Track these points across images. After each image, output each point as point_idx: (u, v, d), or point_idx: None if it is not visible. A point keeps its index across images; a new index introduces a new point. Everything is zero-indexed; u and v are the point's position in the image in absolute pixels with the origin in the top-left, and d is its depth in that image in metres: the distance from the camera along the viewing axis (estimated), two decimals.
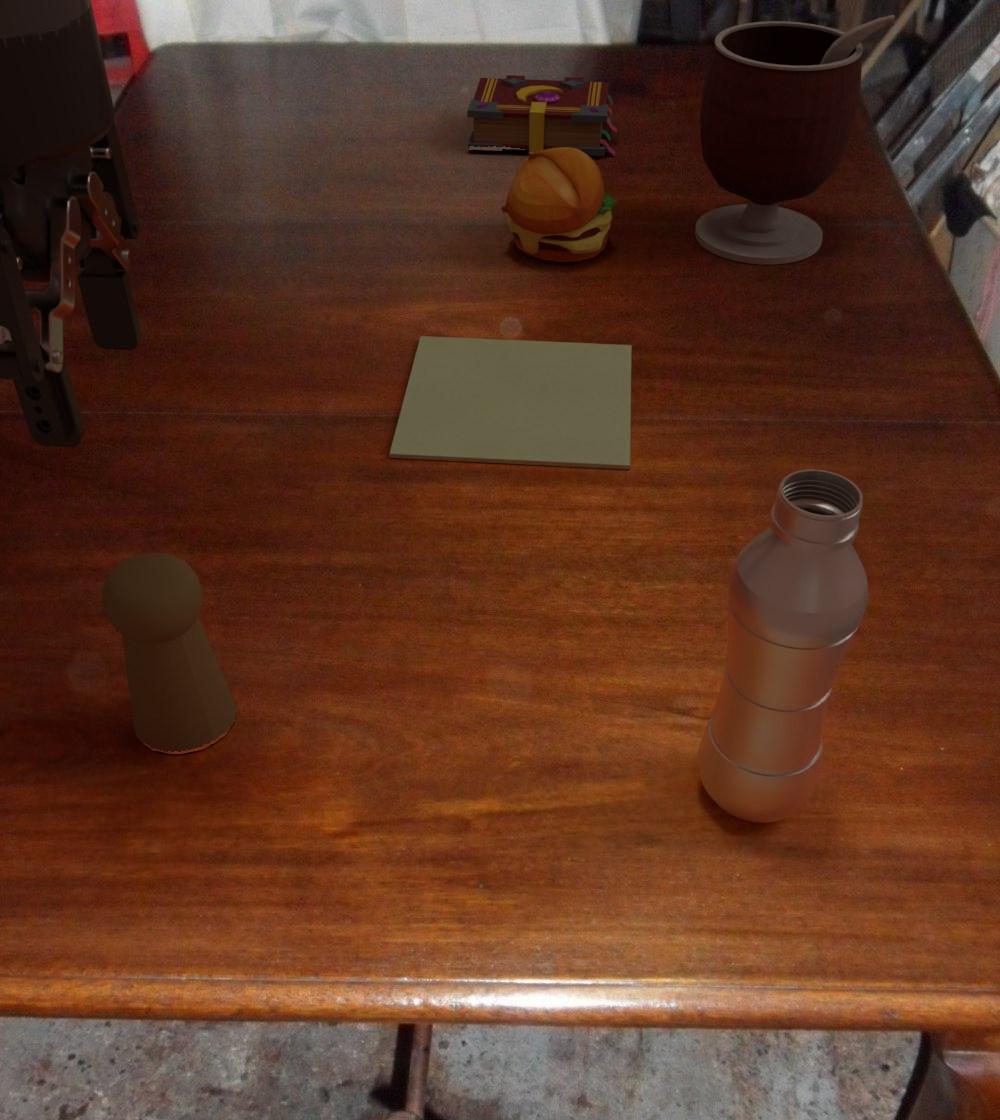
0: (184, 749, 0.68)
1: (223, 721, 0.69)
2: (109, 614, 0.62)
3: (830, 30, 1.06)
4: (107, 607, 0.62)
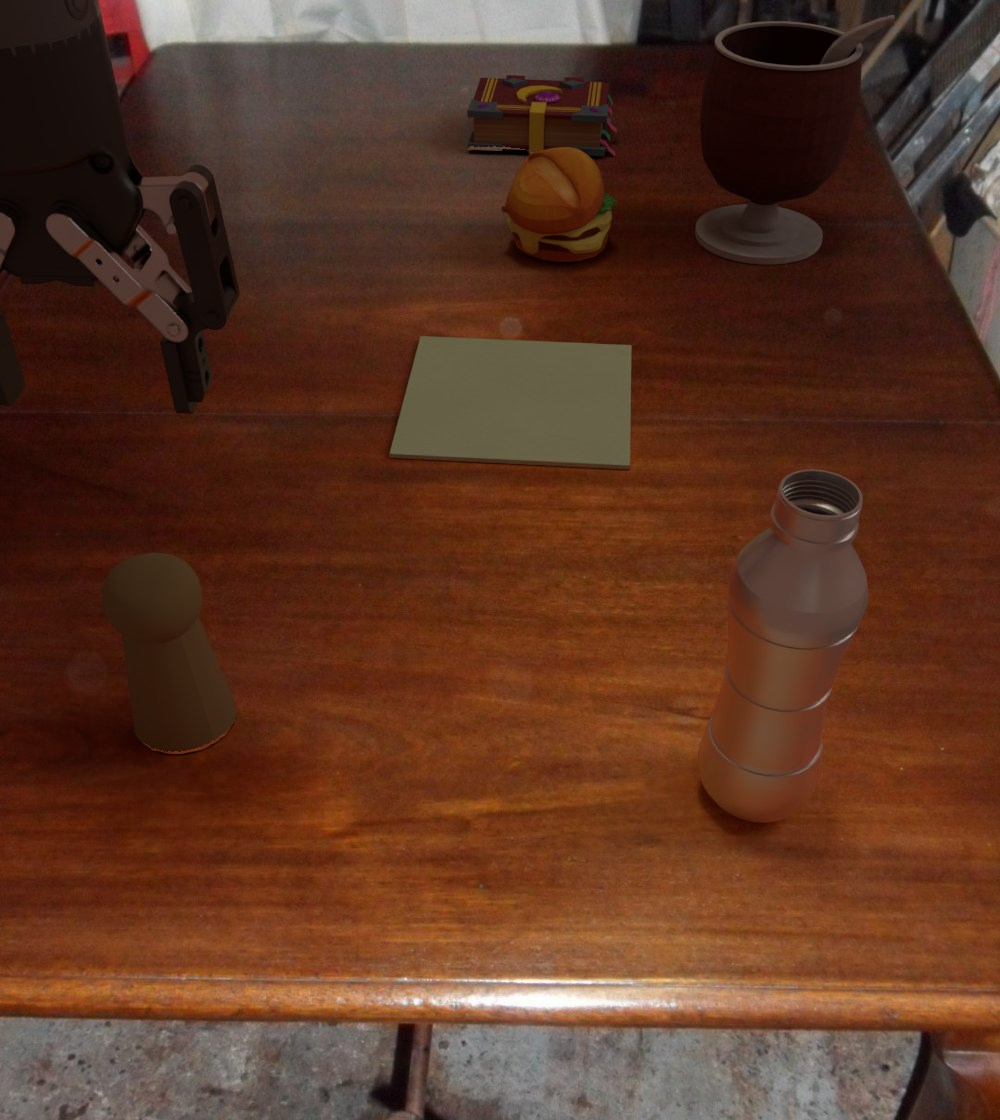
0: (184, 749, 0.68)
1: (223, 721, 0.69)
2: (109, 614, 0.62)
3: (830, 30, 1.06)
4: (107, 607, 0.62)
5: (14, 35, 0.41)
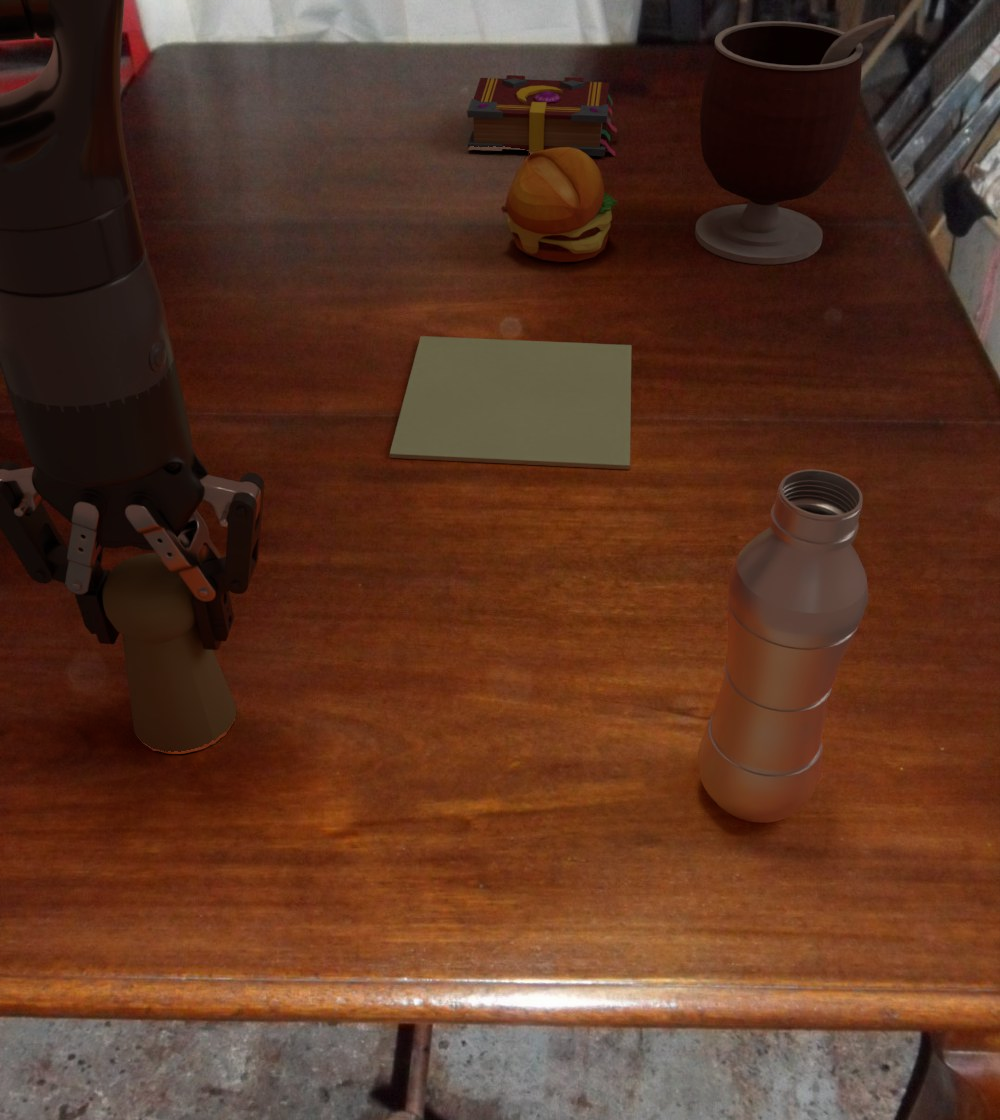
0: (184, 749, 0.68)
1: (223, 721, 0.69)
2: (110, 614, 0.62)
3: (830, 30, 1.07)
4: (108, 607, 0.62)
5: (109, 393, 0.51)
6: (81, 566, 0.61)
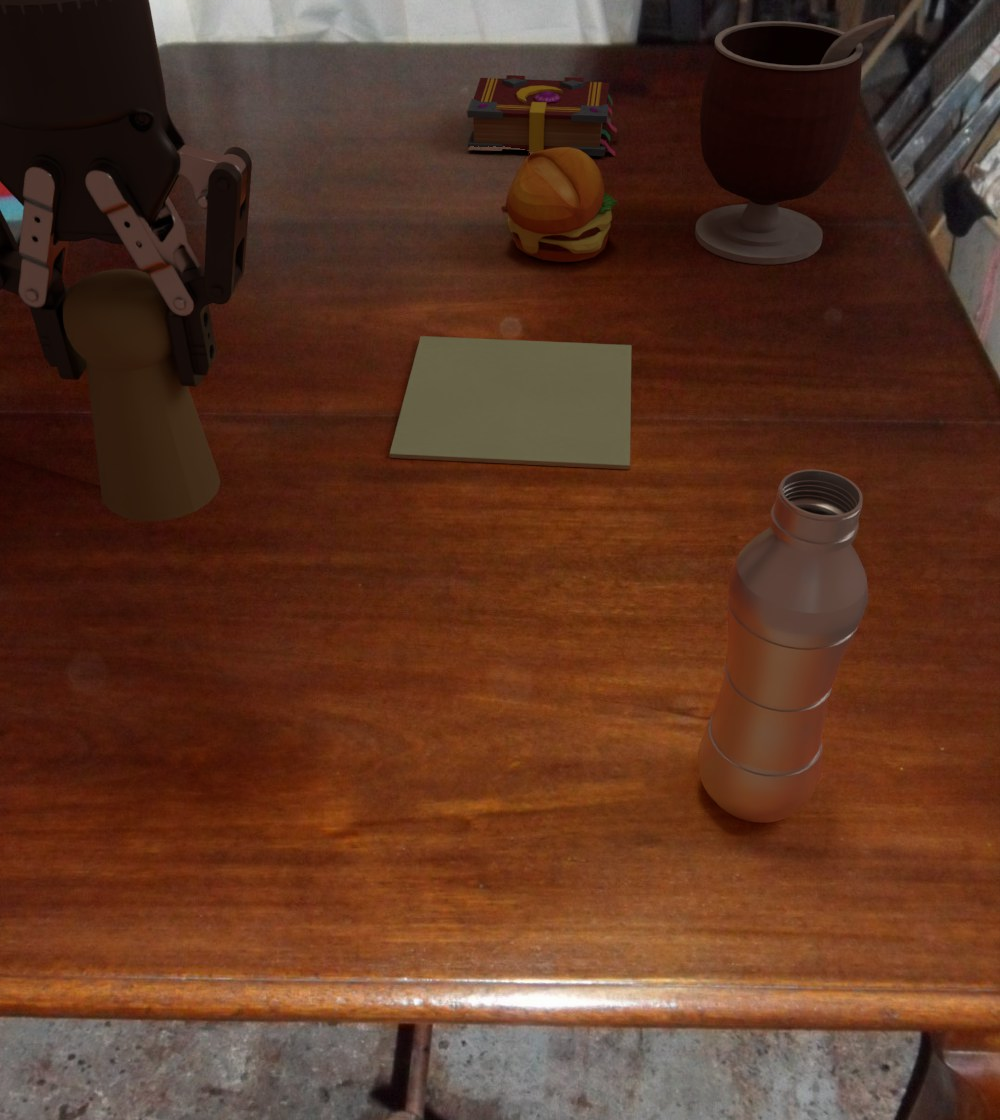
0: (158, 514, 0.59)
1: (203, 486, 0.60)
2: (70, 330, 0.53)
3: (830, 30, 1.07)
4: (68, 322, 0.53)
5: None
6: (37, 267, 0.52)
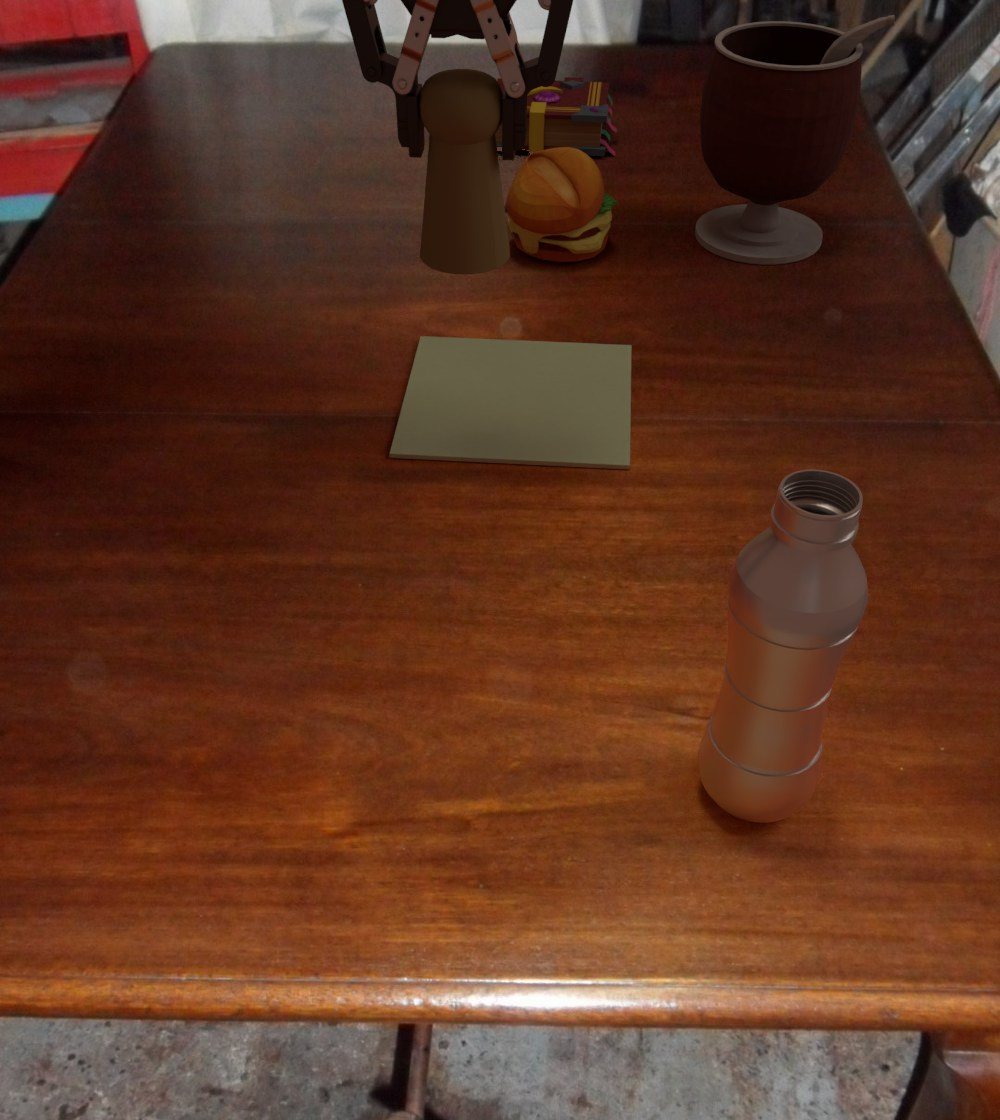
0: (472, 268, 0.77)
1: (503, 248, 0.77)
2: (430, 110, 0.71)
3: (830, 30, 1.06)
4: (428, 104, 0.71)
5: None
6: (410, 60, 0.70)
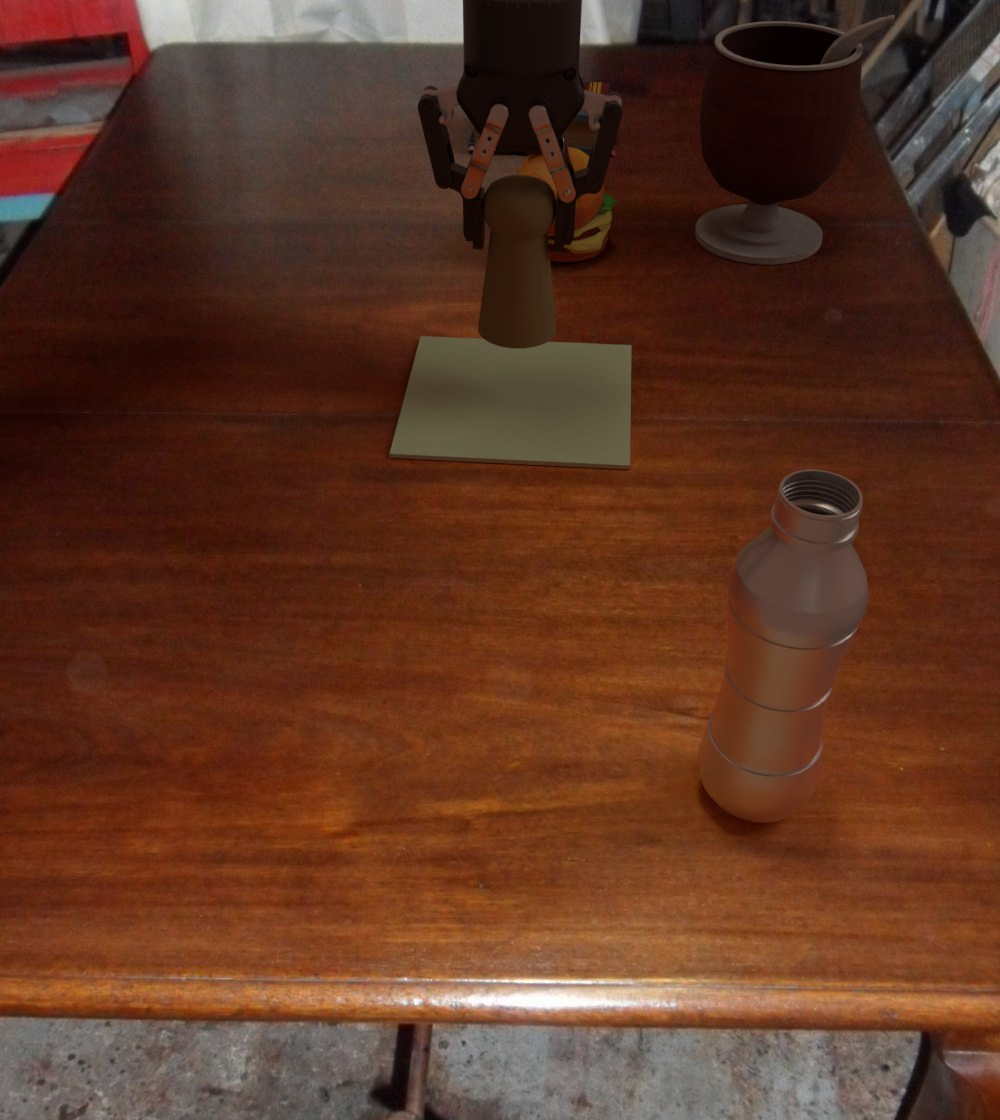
0: (525, 343, 0.88)
1: (552, 325, 0.89)
2: (493, 212, 0.82)
3: (830, 30, 1.07)
4: (492, 207, 0.82)
5: None
6: (477, 171, 0.81)
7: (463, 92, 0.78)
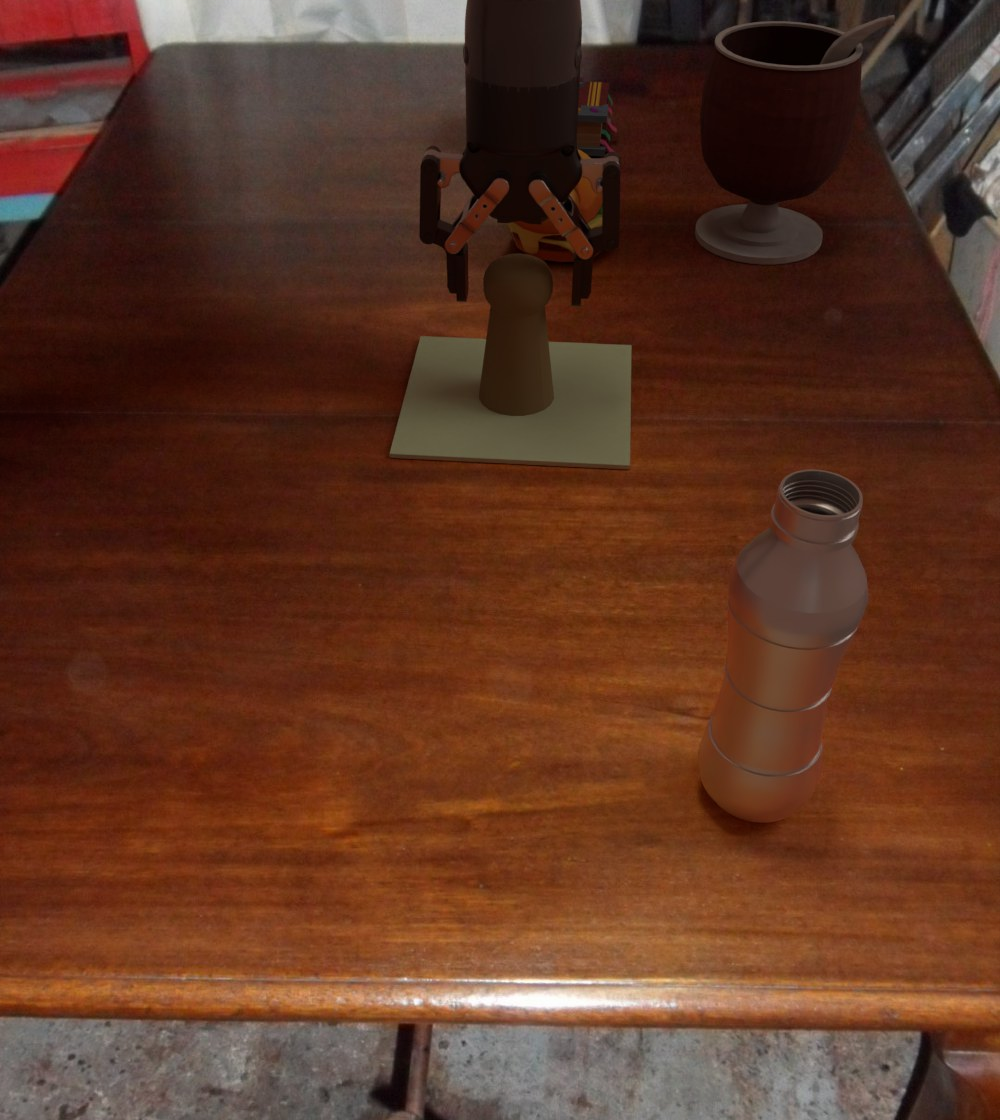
0: (524, 411, 0.92)
1: (549, 393, 0.93)
2: (493, 291, 0.87)
3: (830, 30, 1.06)
4: (492, 286, 0.86)
5: (550, 78, 0.75)
6: (460, 228, 0.84)
7: (467, 164, 0.81)
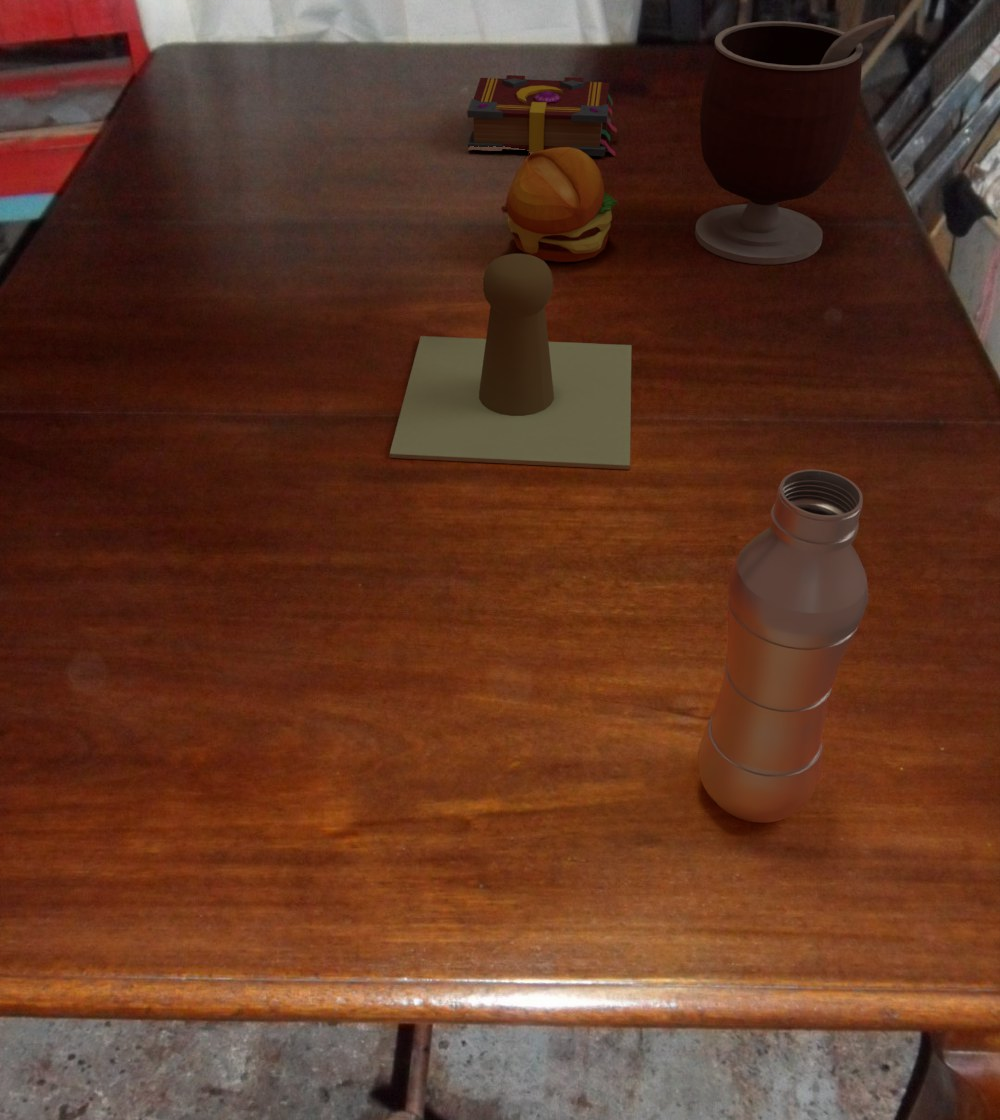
0: (524, 411, 0.92)
1: (549, 393, 0.93)
2: (493, 291, 0.87)
3: (830, 30, 1.06)
4: (492, 286, 0.86)
5: None
6: None
7: None
